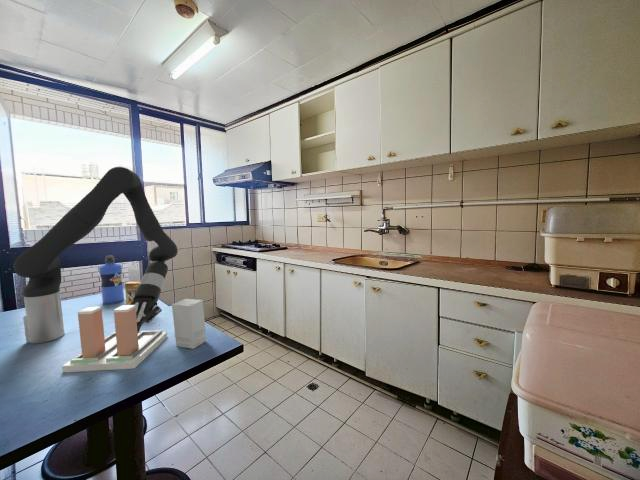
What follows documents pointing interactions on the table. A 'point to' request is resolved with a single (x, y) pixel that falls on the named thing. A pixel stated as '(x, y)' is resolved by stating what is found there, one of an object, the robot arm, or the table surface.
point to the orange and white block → (91, 331)
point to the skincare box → (189, 323)
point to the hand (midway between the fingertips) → (132, 334)
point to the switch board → (110, 355)
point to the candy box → (130, 291)
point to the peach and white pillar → (126, 329)
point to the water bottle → (111, 281)
